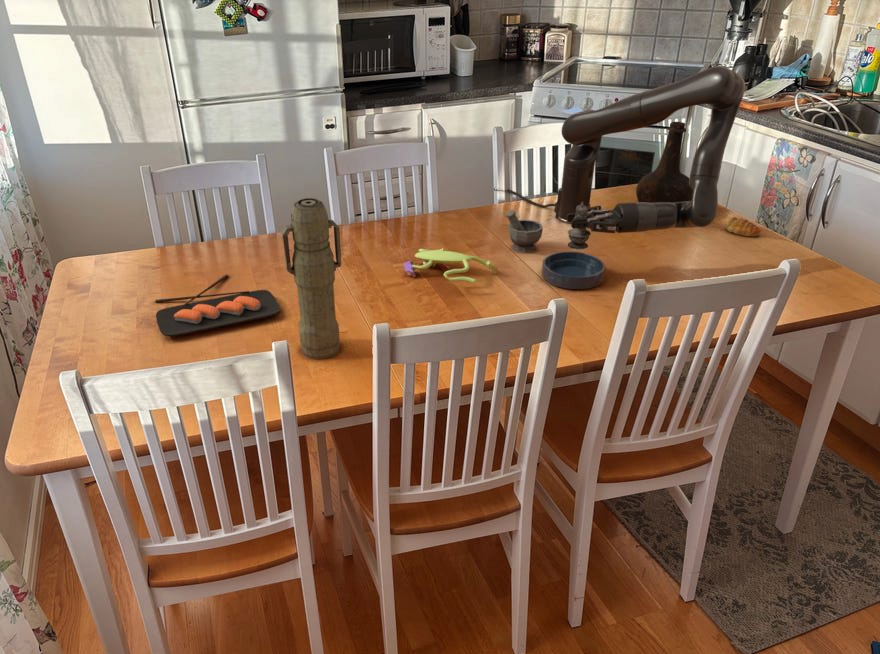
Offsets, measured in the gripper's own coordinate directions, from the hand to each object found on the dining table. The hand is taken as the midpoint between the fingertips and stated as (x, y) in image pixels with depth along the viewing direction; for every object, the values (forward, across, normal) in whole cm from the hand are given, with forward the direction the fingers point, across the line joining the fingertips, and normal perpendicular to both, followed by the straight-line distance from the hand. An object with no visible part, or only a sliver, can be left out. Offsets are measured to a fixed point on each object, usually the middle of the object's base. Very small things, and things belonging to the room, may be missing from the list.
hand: (569, 221), depth 187 cm
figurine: (+30, -6, +16) cm, 35 cm away
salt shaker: (-3, 0, +7) cm, 8 cm away
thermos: (+65, +30, +16) cm, 73 cm away
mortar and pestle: (+7, -20, +16) cm, 27 cm away
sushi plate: (+93, +5, +15) cm, 94 cm away
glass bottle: (-45, -45, +17) cm, 66 cm away
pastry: (-62, -25, +17) cm, 69 cm away
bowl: (-2, 0, +16) cm, 16 cm away
